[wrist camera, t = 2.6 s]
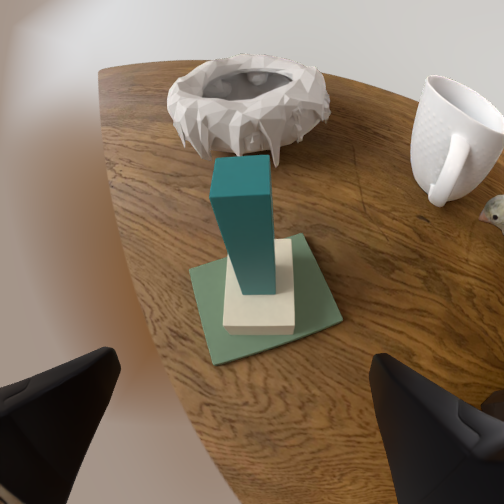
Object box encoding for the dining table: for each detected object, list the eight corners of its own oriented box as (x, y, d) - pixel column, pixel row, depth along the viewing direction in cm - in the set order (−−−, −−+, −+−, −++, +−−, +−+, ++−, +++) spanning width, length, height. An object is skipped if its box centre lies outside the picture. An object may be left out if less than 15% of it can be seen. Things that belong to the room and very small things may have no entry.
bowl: (152, 147, 36) (128, 92, 27) (248, 90, 42) (242, 41, 33) (254, 216, 28) (242, 136, 19) (352, 131, 34) (362, 70, 25)
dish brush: (292, 334, 20) (310, 245, 9) (230, 334, 21) (166, 249, 9) (290, 256, 24) (294, 125, 12) (234, 258, 24) (196, 132, 13)
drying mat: (215, 366, 21) (213, 365, 20) (191, 272, 25) (188, 269, 24) (341, 322, 21) (343, 319, 21) (301, 236, 26) (302, 232, 25)
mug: (457, 255, 23) (522, 173, 12) (377, 205, 27) (411, 102, 16) (470, 180, 28) (505, 110, 17) (408, 143, 32) (430, 67, 21)
